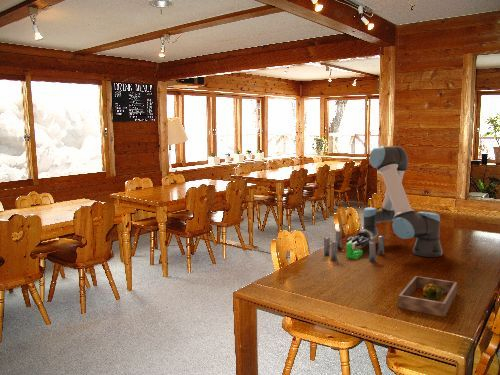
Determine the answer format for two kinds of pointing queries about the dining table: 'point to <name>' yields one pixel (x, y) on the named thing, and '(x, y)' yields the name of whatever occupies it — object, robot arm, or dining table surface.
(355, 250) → the mechanical part
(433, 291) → the christmas decoration
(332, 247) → the spacer posts
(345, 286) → the dining table surface
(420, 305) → the wooden tray
